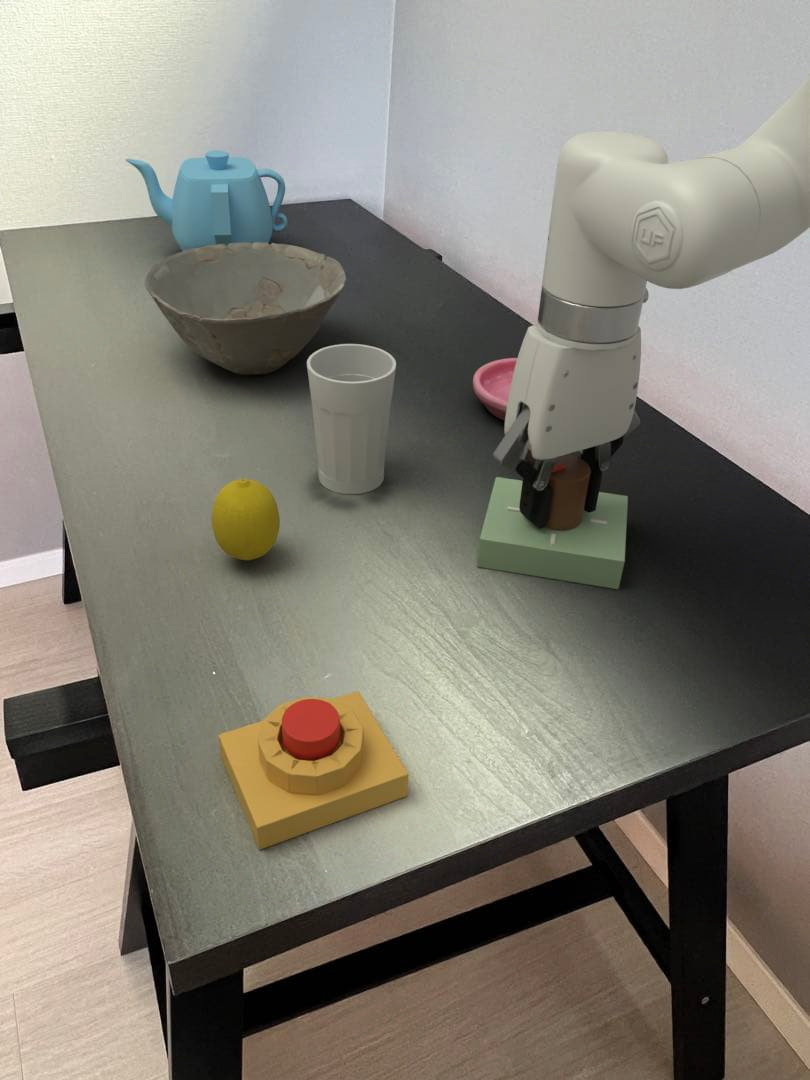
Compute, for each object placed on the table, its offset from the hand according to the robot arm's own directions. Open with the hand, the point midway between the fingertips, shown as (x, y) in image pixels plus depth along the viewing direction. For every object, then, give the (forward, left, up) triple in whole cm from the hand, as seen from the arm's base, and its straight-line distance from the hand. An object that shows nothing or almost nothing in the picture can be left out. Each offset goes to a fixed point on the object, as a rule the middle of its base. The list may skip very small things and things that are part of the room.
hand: (557, 510), depth 82 cm
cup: (+20, -6, -4) cm, 21 cm away
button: (+13, +30, 0) cm, 33 cm away
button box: (+13, +30, -4) cm, 33 cm away
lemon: (+25, +9, -4) cm, 27 cm away
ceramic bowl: (+38, -28, -4) cm, 47 cm away
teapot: (+55, -59, -4) cm, 81 cm away
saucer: (+5, -25, -4) cm, 26 cm away
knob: (0, 0, -1) cm, 1 cm away
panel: (0, 0, -4) cm, 4 cm away
